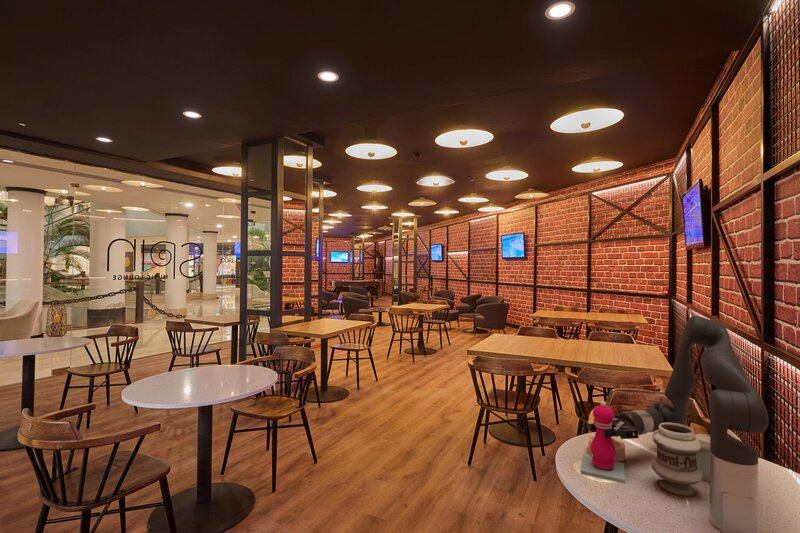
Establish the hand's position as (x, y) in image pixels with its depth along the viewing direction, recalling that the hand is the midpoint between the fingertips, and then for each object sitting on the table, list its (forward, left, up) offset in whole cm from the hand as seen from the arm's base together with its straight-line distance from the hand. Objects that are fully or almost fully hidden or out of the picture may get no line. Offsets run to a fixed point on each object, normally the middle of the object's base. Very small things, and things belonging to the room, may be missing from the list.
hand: (597, 430), depth 129 cm
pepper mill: (+2, -2, -11) cm, 12 cm away
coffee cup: (+12, -31, -13) cm, 35 cm away
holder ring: (+15, -3, -13) cm, 20 cm away
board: (+2, -2, -13) cm, 13 cm away
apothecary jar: (-1, -21, -13) cm, 24 cm away
